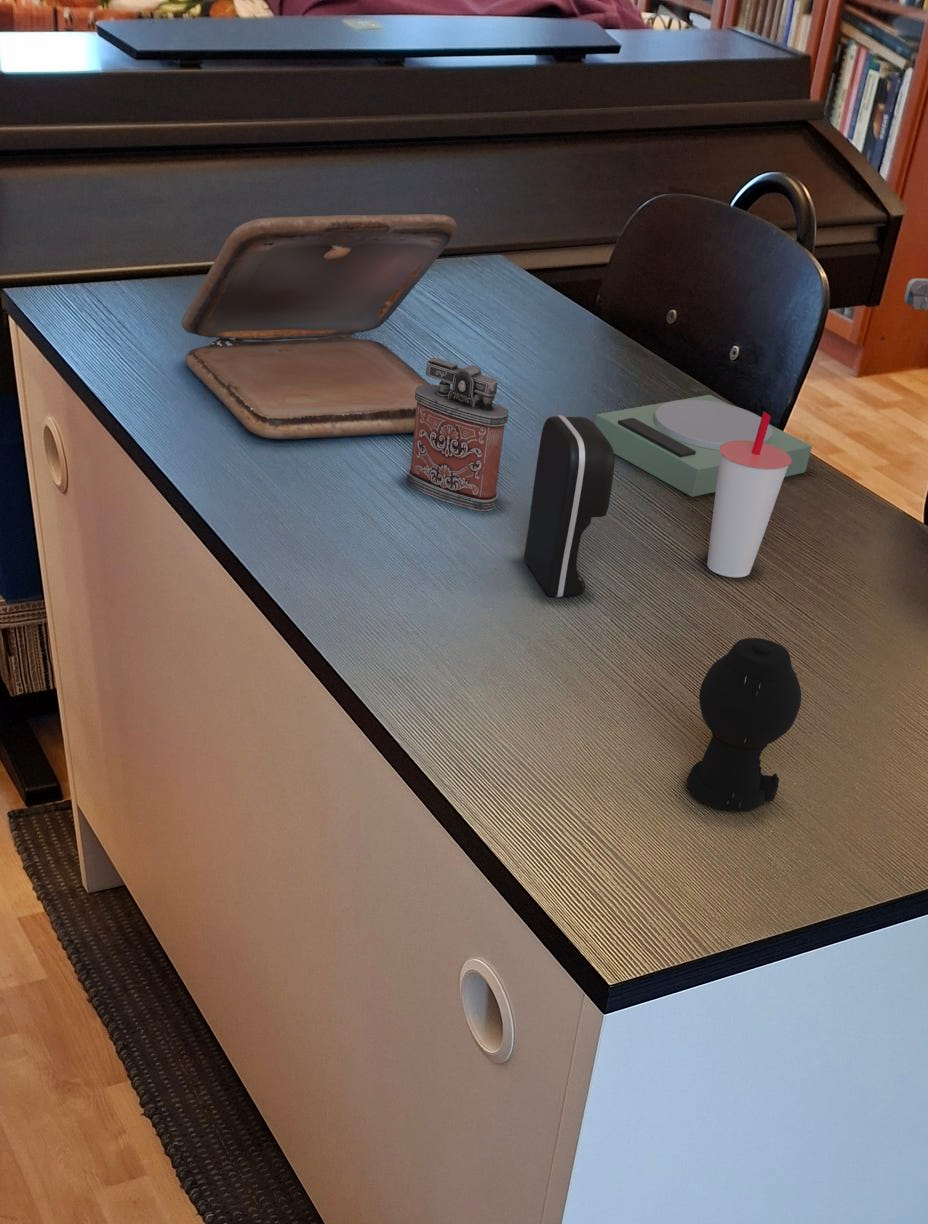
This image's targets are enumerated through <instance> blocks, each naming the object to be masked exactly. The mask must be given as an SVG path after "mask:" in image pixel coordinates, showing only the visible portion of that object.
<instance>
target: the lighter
mask: <svg viewBox="0 0 928 1224" xmlns="http://www.w3.org/2000/svg"><path fill="white" fill-rule="evenodd" d="M425 376H426V377H429V378H432V379H434V380H437V381H440V382H439V383H438V384H433V383H430V384H425V385H420V386H418V387H416V392H415V400H416V401H417V406H416V416H415V427H414V433H413V437H412V438H413V439H412V449H411V460H410V468H409V469H408V471H407V479H406V480H407V481H406V483H407V486H409V487H411V488H413V489H415V490H417V491H419V492H420V493H423V494H425V495H427V496H429V497H432V498H435V499H438V500H440V501H443V502H445V503H449V504H452V505H455V506H459V507H462V508H466V509H469V510H473V511H478V512H488V511H489V512H490V511H493V510H494V509H496V508H497V505H498V496H499V494H498V492H497V486H498V479H499V471H500V462H501V456H502V449H503V440H504V435H505V434H504V433H505V426H506V424H508V419H509V414H510V413H509V412H510V411H509V409H507V408H506V407H504V406H502V405H499V404H497V403H495V402H494V401H495V397H496V396H497V390H498V383H499V380H498V379H496V378H493V377H490V376H487V375H486V374H485V375H484V374H483V373H482V370H481V369H480V367H479V366H476V365H473V364H472V365H468V366H466V367H464V368H463V367H460V366H458V364H457V363H454V362H451V361H448V360H446V359H442V358H440V357H435V356H434V357H430V358H429V360H427V361H426V367H425Z"/></svg>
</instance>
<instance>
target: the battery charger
mask: <svg viewBox="0 0 928 1224" xmlns="http://www.w3.org/2000/svg"><path fill="white" fill-rule="evenodd" d="M615 461H616V458H615V454H614V451H613V448H612V446H611V444H610V443H609V441H608V440H607V439H606V437H605V436H604V435H603V433H602V432H601V431H600V430H599V429H598V427H597V426H596V425H595V422H593V421H592V420H591V419H589V418H587V417H583V416H565V415H563V414H560V415H559V414H557V415H554V416H549V417H548V418H546V420H545V422H544V423H543V426H542V430H541V435H540V441H539V447H538V453H537V459H536V467H535V475H534V481H533V487H532V488H533V490H532V496H531V505H530V513H529V521H528V527H527V533H526V541H525V545H524V546H525V547H524V553H523V554H524V555H523V559H524V560H525V562H526V564H527V565H528V567H529V569H530V570H531V571H532V573H533V575H534V577H535V578H536V580H537V581H538V583H539V584H540V586H541V587H542V588H543V590H544V591H545V592H546V595H548V596H550V597H555V598H563V597H571V596H579V595H581V594H583V593H584V592H585V589H586V583H585V581H584V579H583V577H582V576H581V575H580V573H579V572H578V569H577V562H578V553H579V549H580V543H581V539H582V535H583V533H584V532H585V531H586V529H587V528H588V527H589V526H591V522H592V518H602V517H605V516H607V514H608V510H609V507H610V501H611V495H612V487H613V480H614V472H615V463H616V462H615Z"/></svg>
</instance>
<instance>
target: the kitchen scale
mask: <svg viewBox="0 0 928 1224" xmlns="http://www.w3.org/2000/svg"><path fill="white" fill-rule="evenodd" d="M761 418H762V416H760V415H758V414H755V413H754V412H752V411H750V410H748V409H744V408H741V407H739V406H735V405H731V404H729V403H728V402H726V401H724V400H721V399H719V398H718V397H716V396H714V395H712V394H705V395H700V396H694V397H689V398H683V399H677V400H670V401H666V402H665V401H664V402H659V403H654V404H647V405H642V406H637V407H631V408H624V409H619V410H612V411H607V412H602V413H601V412H600V413H597V414H596V415H595V420H594V424H595V425H596V426H597V427H598V429H599V430H600V431H601V432H602V433H603V435H604V436H605V437H606V439H607V440H608V441H609V443H610V444H611V446H612V448H613V451H614V455H616V456H617V457H619V458H621V459H623V460H625V461H627V462H628V463H630V464H631V465H634V466H635V467H637V468H639V469H641V470H642V471H645V472H646V473H648V474H649V475H651V476H653V477H656V478H657V479H659V480H661V482H664V483H665V484H668V485H670V486H672V487H673V488H675V489H677V490H678V491H680V492H682V493H684V494H686V495H688V496H689V497H691V498H694V497H699V496H703V495H708V494H712V493H713V494H714V493H716V486H717V478H718V470H719V462H720V454H721V452H720V446H721V445H722V444H723V443H726V442H729V441H736V440H745V441H755V439H756V436H757V432H758V429H759V425H760V422H761ZM763 443H764V444H768V445H771V446H774V447H777V448H779V449H781V450H783V451H784V452H786V453H787V454H788V455H789V456H790V457H791V460H792V461H791V463H790V465H788V468H787V471H786V474H785V476H784V478H787V477H790V476H795V475H800V474H805V473H806V472H807V467H808V464H809V460H810V456H811V452H812V448H813V445H812V444H810V443H807V442H806V441H804V440H801V439H799V438H798V437H796V436H794V435H792V434H789V433H788V432H785V431H784V430H781V429H780V428H778V427H775V426H773V425H772V424H770V423H769V425H768V428H767V431H766V435H765V438H764V442H763Z"/></svg>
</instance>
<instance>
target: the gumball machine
mask: <svg viewBox="0 0 928 1224" xmlns="http://www.w3.org/2000/svg"><path fill="white" fill-rule="evenodd" d="M765 630H766V627H764V628H763V635H764V634H765ZM801 689H802V688H801V685H800V682H799V679H798V676H797V672H796V671H795V670H794V668H793V665H792V659H791V655H790V652H789V651H788V650H787V648H785V647H784V646H783V645H781V644H780V643H777V642H776V641H773V640H769V639H768V635H766V636H765V638H761V637H760V638H758V637H747V638H743V639H742V638H741V639H739V640H738V641H736V642H735V643H734V644H733V645H732V647H731V648H730V649H729V651H728V652H727V653H726V654H724V655H723V656H722V657H720V658H719V659H716V661H715V662H713V664H712V665H711V666H710V667H709V669H708V670H707V671H706V674H705V676H704V678H703V680H702V682H701V686H700V688H699V694H698V700H699V701H698V702H699V707H700V712H701V717H702V720H703V722H704V723H705V725H706V726H707V728H708V729H709V730H710V731H711V738H710V741H709V743H708V745H707V747H706V750H705V752H704V754H703V756H702V759H701V760H699V761H698V762H696V763H695V764H694V765H693V766H692V767H691V770H690V772H689V774H688V776H687V778H686V786H687V789H688V790H689V792H690V793H691V794H692V795H693V797H695V798H697V799H698V800H699V801H700V802H702V803H705V804H706V805H709V806H711V807H714V808H718V809H721V810H725V811H732V812H733V811H734V812H741V811H743V812H745V811H751V810H754V809H757V808H759V807H760V806H762V805H763V803H764V802H766V803H768V802H773V801H775V798H776V795H777V792H778V789H779V782H780V777H779V776H778V775H777V773H773V774H772V775H769V774H763V773H762V767H761V762H762V761H761V759H760V758H761V756H762V755H761V754H762V753H763V751H764V750H765V749H766V748H767V747H768V745H770V744H772V743H775V742H776V741H777V740H779V739H780V738H781V737H783V736H784V735H785V734H786V733H787V732H788V731H790V729H791V728H792V726H793V725H794V723H795V721H796V719H797V717H798V714H799V711H800V709H801V705H802V690H801ZM764 814H765V811H764V810H763V811H762V819H763V818H764Z"/></svg>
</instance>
